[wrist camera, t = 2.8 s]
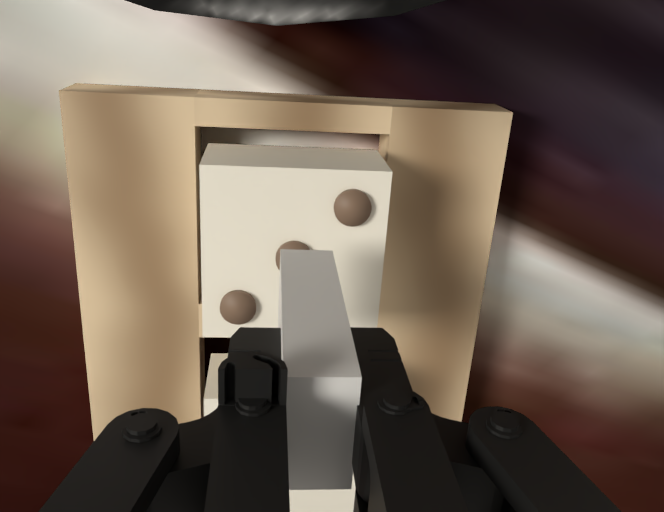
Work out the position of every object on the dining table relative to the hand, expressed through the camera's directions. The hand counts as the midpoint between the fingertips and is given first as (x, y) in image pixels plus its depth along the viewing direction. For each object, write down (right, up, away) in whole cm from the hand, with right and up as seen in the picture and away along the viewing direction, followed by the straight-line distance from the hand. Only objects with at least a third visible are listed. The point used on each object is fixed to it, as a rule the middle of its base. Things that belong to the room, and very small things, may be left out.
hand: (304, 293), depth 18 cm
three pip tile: (-1, +2, +5) cm, 6 cm away
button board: (-2, -5, +11) cm, 12 cm away
